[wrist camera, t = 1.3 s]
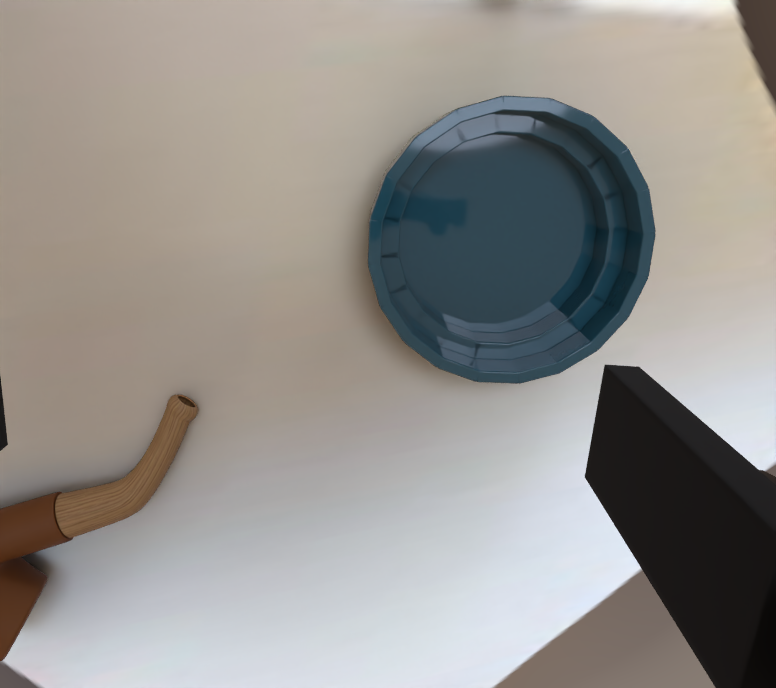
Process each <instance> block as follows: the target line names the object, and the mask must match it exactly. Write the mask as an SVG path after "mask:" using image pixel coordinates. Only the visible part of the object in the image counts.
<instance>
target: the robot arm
mask: <svg viewBox="0 0 776 688" xmlns="http://www.w3.org/2000/svg"><path fill="white" fill-rule="evenodd" d="M7 445H8V443H7V433H6V424H5V415H4V405H3V396H2V387H1V378H0V451H1V450H2V449H3V448H4V447H6V446H7ZM585 478H586V480H587V481H588V483H589V485H590V486H591V488H592V489H593V491H594V493H595V494H596V496H597V497H598V499H599V501H600V502H601V504H602V505H603V507H604V509H605V510H606V512H607V513H608V515H609V517H610V518H611V520H612V522H613V523H614V525H615V526H616V528H617V530H618V531H619V533H620V534H621V536H622V538H623V539H624V541H625V542H626V544H627V546H628V547H629V549H630V550H631V552H632V554H633V555H634V557H635V559H636V560H637V562H638V563H639V565H640V567H641V568H642V570H643V571H644V573H645V574H646V576H647V578H648V579H649V581H650V583H651V584H652V586H653V587H654V589H655V590H656V592H657V594H658V595H659V597H660V599H661V600H662V602H663V604H664V605H665V607H666V608H667V610H668V611H669V613H670V615H671V616H672V618H673V620H674V621H675V622H676V624H677V626H678V628H679V629H680V631H681V632H682V634H683V636H684V637H685V639H686V641H687V642H688V644H689V645H690V647H691V649H692V650H693V652H694V653H695V655H696V657H697V658H698V660H699V661H700V663H701V665H702V666H703V668H704V670H705V671H706V673H707V674H708V676H709V678H710V679H711V681H712V682H713V684H714V686H715V687H716V688H776V477H775V476H773V475H771V474H769V473H767V472H765V471H763V470H758V469H757V468H756V467H755V466H753V465H752V464H751V463H750V462H749V461H748V460H746V459H745V458H744V457H743V456H742V455H741V454H739V453H738V452H737V451H736V450H735V449H734V448H733V447H731V446H730V445H729V444H728V443H727V442H726V441H724V440H723V439H722V438H721V437H720V436H719V435H717V434H716V433H715V432H714V431H713V430H712V429H710V428H709V427H708V426H707V425H706V424H705V423H704V422H702V421H701V420H700V419H699V418H698V417H697V416H695V415H694V414H693V413H692V412H691V411H690V410H688V409H687V408H686V407H685V406H684V405H683V404H681V403H680V402H679V401H678V400H677V399H676V398H675V397H673V396H672V395H671V394H670V393H669V392H668V391H666V390H665V389H664V388H663V387H662V386H661V385H659V384H658V383H657V382H656V381H655V380H654V379H652V378H651V377H650V376H649V375H648V374H647V373H646V372H644V371H643V370H642V369H641V368H640V367H633V366H617V365H605V366H604V372H603V378H602V383H601V389H600V394H599V400H598V406H597V411H596V417H595V423H594V428H593V434H592V439H591V445H590V451H589V456H588V462H587V467H586V473H585Z"/></svg>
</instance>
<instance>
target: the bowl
mask: <svg viewBox="0 0 776 688" xmlns="http://www.w3.org/2000/svg"><path fill="white" fill-rule="evenodd" d="M654 240H655V225H654V218H653V211H652V205H651V198H650V192H649V188H648V185H647V183H646V181H645V179H644V177H643V176H642V174H641V172H640V170H639V168H638V166H637V164H636V162H635V160H634V158H633V156H632V155H631V153H630V151H629V149H628V148H627V146H626V145H625V144H624V143H622V142H621V141H620V140H619V139H618V138H617V137H616V136H615V135H614V134H613V133H612V132H610V131H609V130H608V129H607V128H606V127H605V126H604V125H603V124H602V123H601V122H600V121H599V120H597V119H596V118H595V117H594V116H592V115H590V114H588V113H585V112H583V111H580V110H578V109H576V108H573V107H571V106H568V105H566V104H564V103H561V102H559V101H556V100H554V99H550V98H539V97H520V96H500V97H496V98H493V99H489V100H486V101H482V102H479V103H475V104H472V105H468V106H465V107H461V108H458V109H455V110H453V111H451V112H449V113H446V114H445V115H443V116H442V117H441V118H439V119H438V120H436V121H435V122H433V123H432V124H430V125H429V126H427V127H426V128H424V129H423V130H421V131H420V132H419V133H417V134H416V135H414V136H413V137H412V138H410V140H409V141H408V142H407V144H406V145H405V146H404V147H403V149H402V150H401V151H400V153H399V154H398V155H397V156H396V158H395V159H394V160H393V162H392V163H391V164H390V165H389V167H388V168H387V169H386V171H385V173H384V175H383V178H382V181H381V183H380V186H379V189H378V192H377V194H376V197H375V200H374V202H373V205H372V208H371V212H370V222H369V247H368V267H369V271H370V274H371V278H372V281H373V285H374V288H375V292H376V295H377V299H378V302H379V306H380V307H381V309H382V311H383V312H384V314H385V315H386V317H387V318H388V320H389V321H390V323H391V324H392V326H393V327H394V329H395V330H396V332H397V333H398V335H399V336H400V337H401V339H402V340H403V341H404V342H405V344H407V345H408V346H409V347H411V348H412V349H413V350H414V351H416V352H417V353H418V354H420V355H421V356H422V357H424V358H425V359H426V360H427V361H429V362H430V363H431V364H433V365H434V366H435V367H438V368H439V369H442V370H444V371H447V372H450V373H453V374H456V375H458V376H461V377H464V378H467V379H470V380H473V381H477V382H491V383H524V382H527V381H531V380H535V379H539V378H543V377H547V376H551V375H555V374H558V373H560V372H563V371H564V370H566V369H568V368H569V367H571V366H573V365H574V364H576V363H578V362H579V361H581V360H583V359H584V358H586V357H588V356H589V355H591V354H593V353H594V352H596V351H597V350H599V349H600V348H601V347H602V346H603V344H604V343H605V342H606V341H607V340H608V339H609V338H610V337H611V336H612V335H613V334H614V333H615V332H616V330H617V329H618V328H619V327H620V326H621V325H622V324H623V323H624V322H625V321H626V320H627V318H628V317H629V316H630V314H631V312H632V310H633V308H634V306H635V303H636V301H637V299H638V297H639V295H640V293H641V291H642V289H643V287H644V285H645V283H646V281H647V279H648V276H649V271H650V265H651V258H652V252H653V246H654Z"/></svg>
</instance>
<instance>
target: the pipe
mask: <svg viewBox="0 0 776 688" xmlns="http://www.w3.org/2000/svg"><path fill="white" fill-rule="evenodd" d="M197 412H198V408H197V405H196V404H195V403H194V402H193V401H192V400H191V399H189V398H188V397H186V396H183V395H174V396H172V397H171V398H170V399H169V401H168V403H167V407H166V410H165V413H164V415H163V418H162V420H161V422H160V425H159V427H158V429H157V432H156V434H155V436H154V438H153V440H152V442H151V444H150V446H149V448H148V449H147V451H146V453H145V454H144V456H143V457H142V459H141V460H140V462H139V463H138V464H137V466H136V467H135V468H134V469H133V470H132V471H131V472H130V473H129V474H128V475H127V476H126V477H124V478H123V479H121V480H118V481H115V482H112V483H108V484H104V485H99V486H95V487H90V488H86V489H81V490H76V491H71V492H66V493H62V492H56V493H52V494H49V495H46V496H42V497H39V498H35V499H32V500H29V501H25V502H22V503H18V504H15V505H12V506H8V507H5V508H1V509H0V661H2V660H3V659H4V658H5V657H6V656H7V654H8V652H9V651H10V649H11V647H12V645H13V643H14V642H15V640H16V638H17V636H18V634H19V633H20V631H21V629H22V627H23V625H24V624H25V622H26V620H27V618H28V616H29V614H30V612H31V611H32V609H33V607H34V605H35V603H36V601H37V599H38V598H39V596H40V594H41V592H42V590H43V588H44V586H45V584H46V582H47V578H48V577H47V575H45V574H44V573H42V572H41V571H39V570H38V569H36V568H35V567H33V566H32V565H31V564H29V563H28V562H27V561H26V560H24V559H23V558H21V556H24V555H27V554H31V553H34V552H37V551H40V550H43V549H46V548H49V547H52V546H56V545H59V544H62V543H65V542H68V541H70V540H72V539H73V538H74V537H75V536H78V535H81V534H84V533H87V532H90V531H93V530H96V529H99V528H102V527H104V526H107V525H110V524H113V523H115V522H118V521H120V520H123V519H125V518H127V517H129V516H131V515H133V514H135V513H136V512H138V511H139V510H140V509H142V508H143V507H144V506H145V504H146V503H147V502H148V501H149V500H150V498H151V497H152V496H153V494H154V493H155V491H156V490H157V488H158V486H159V485H160V483H161V481H162V480H163V478H164V476H165V474H166V473H167V471H168V469H169V467H170V465H171V463H172V461H173V459H174V457H175V455H176V453H177V451H178V449H179V447H180V444H181V442H182V440H183V437H184V435H185V432H186V430H187V427H188V425H189V422H190V421H191V420H193V419H194V418H195V417H196V415H197Z"/></svg>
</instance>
